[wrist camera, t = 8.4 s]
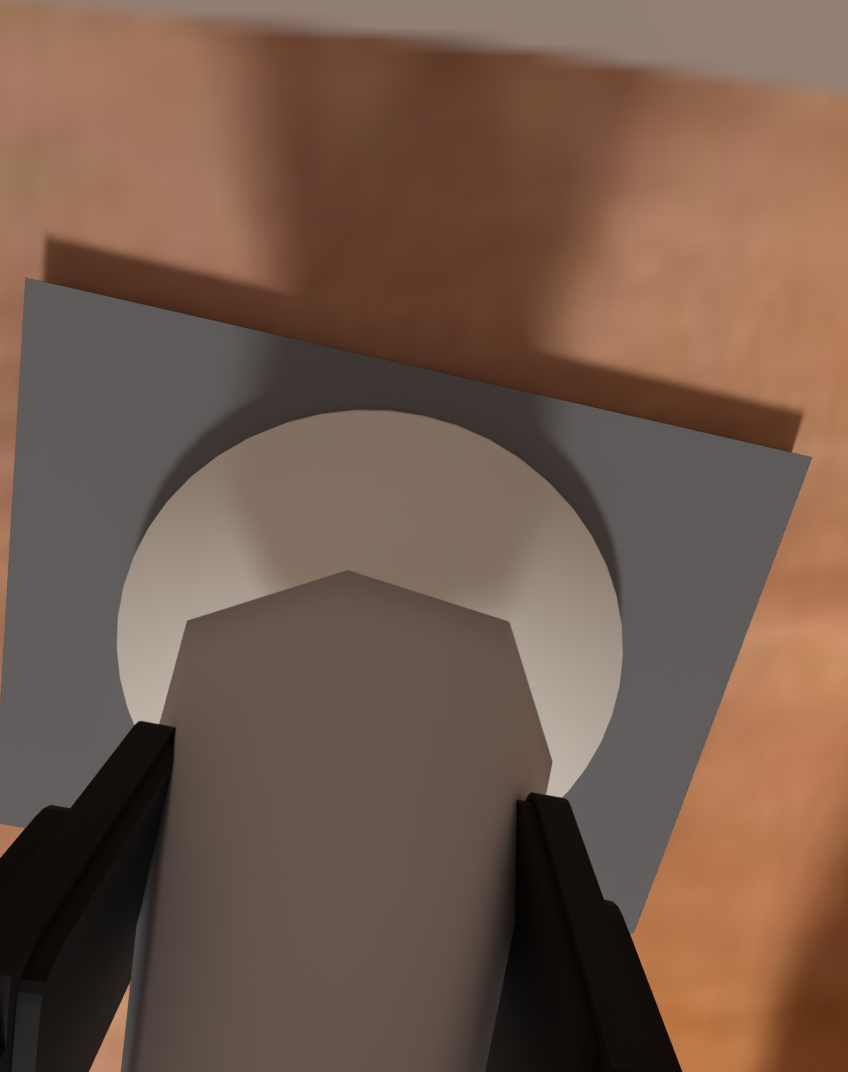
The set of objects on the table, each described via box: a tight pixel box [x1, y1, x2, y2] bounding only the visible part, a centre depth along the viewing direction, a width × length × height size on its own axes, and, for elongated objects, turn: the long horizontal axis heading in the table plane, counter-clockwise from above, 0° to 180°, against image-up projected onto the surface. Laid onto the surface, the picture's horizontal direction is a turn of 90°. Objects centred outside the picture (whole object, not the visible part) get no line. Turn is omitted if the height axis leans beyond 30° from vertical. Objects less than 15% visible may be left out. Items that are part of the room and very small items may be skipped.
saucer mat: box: [0, 278, 812, 933], centre depth 16 cm, size 18×14×2 cm
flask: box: [121, 570, 553, 1072], centre depth 7 cm, size 7×7×10 cm
